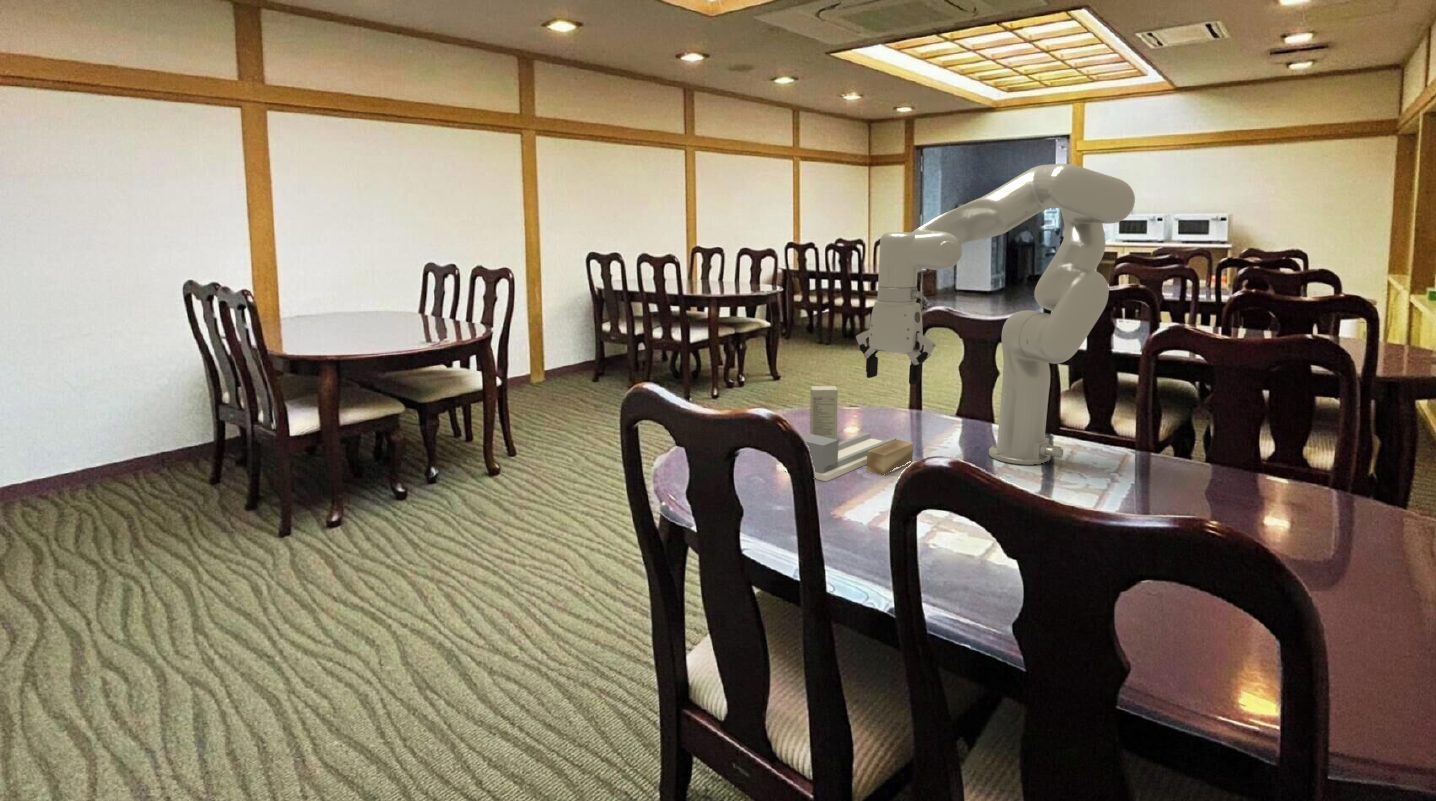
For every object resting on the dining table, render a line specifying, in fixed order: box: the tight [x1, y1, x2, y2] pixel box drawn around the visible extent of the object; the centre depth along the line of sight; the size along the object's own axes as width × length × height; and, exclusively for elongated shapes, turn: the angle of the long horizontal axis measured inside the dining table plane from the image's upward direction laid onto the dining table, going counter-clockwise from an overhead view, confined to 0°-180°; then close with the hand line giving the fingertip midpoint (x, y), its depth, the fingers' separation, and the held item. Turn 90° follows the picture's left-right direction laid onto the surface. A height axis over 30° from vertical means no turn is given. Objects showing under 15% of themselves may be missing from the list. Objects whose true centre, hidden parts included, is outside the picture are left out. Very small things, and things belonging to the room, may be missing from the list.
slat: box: [865, 439, 914, 476], centre depth 177 cm, size 4×12×4 cm, turn 140°
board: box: [802, 432, 897, 482], centre depth 181 cm, size 10×30×7 cm, turn 140°
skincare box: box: [809, 385, 839, 440], centre depth 197 cm, size 6×4×12 cm
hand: (892, 380), depth 174 cm, fingers open, 9 cm apart
